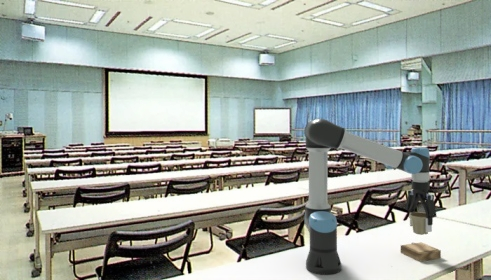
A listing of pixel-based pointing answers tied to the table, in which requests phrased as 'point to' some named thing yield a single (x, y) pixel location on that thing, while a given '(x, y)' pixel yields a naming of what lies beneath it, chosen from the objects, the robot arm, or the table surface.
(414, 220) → the flower pot
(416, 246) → the plinth
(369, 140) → the robot arm
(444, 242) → the table surface
